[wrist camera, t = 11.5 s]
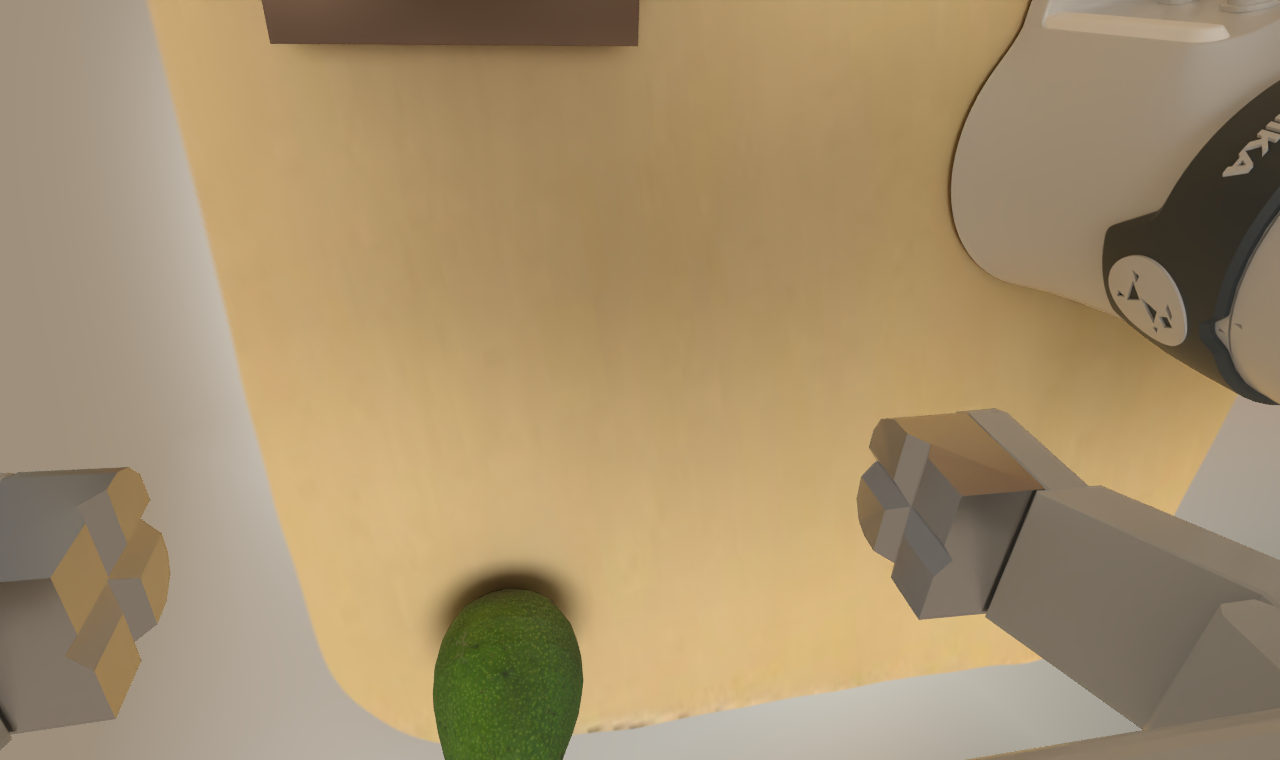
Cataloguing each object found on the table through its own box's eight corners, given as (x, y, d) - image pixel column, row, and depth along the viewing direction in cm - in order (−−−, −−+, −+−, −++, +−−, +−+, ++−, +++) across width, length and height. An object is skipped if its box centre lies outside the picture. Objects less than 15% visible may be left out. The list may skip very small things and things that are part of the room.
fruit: (591, 624, 47) (628, 816, 37) (472, 672, 47) (476, 877, 37) (541, 538, 43) (568, 730, 32) (410, 590, 43) (396, 798, 32)
